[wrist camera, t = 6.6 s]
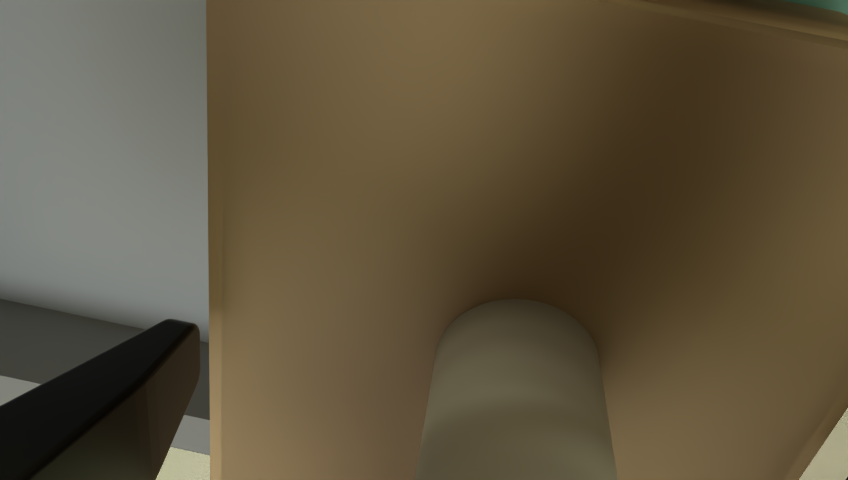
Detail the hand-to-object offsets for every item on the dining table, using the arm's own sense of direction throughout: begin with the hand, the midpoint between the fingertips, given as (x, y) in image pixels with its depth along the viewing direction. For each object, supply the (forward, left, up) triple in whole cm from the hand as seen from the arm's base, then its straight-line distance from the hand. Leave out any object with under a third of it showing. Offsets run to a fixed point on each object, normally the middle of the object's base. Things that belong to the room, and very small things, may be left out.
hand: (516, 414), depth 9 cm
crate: (0, 0, -6) cm, 6 cm away
